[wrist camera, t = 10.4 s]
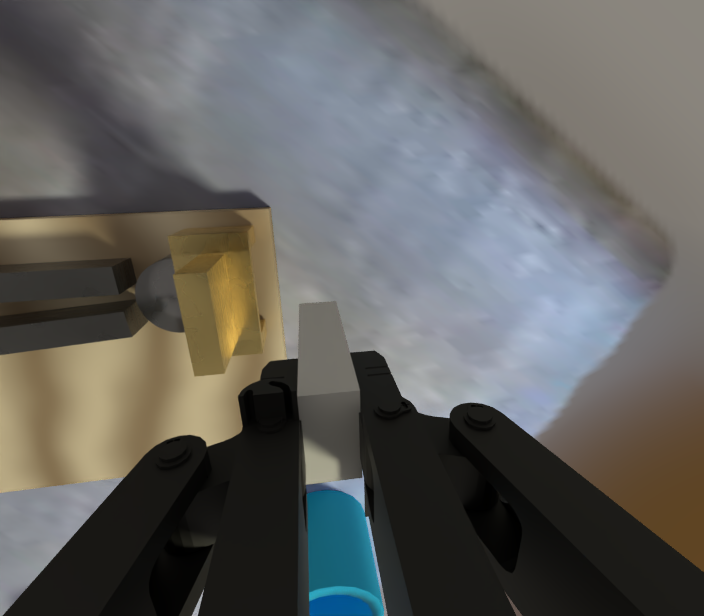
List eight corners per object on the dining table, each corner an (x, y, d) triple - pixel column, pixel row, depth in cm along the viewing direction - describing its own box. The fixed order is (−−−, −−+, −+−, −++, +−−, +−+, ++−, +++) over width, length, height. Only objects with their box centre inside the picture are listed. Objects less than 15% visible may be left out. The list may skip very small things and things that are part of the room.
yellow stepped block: (205, 337, 24) (170, 399, 17) (185, 228, 21) (133, 250, 15) (266, 332, 24) (255, 390, 18) (253, 225, 22) (234, 245, 15)
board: (-166, 498, 26) (-192, 517, 24) (-355, 233, 19) (-407, 237, 18) (295, 442, 30) (295, 455, 28) (270, 207, 23) (268, 209, 22)
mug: (260, 516, 32) (249, 622, 24) (339, 475, 32) (353, 569, 24) (325, 586, 36) (332, 693, 29) (395, 550, 36) (421, 649, 28)
